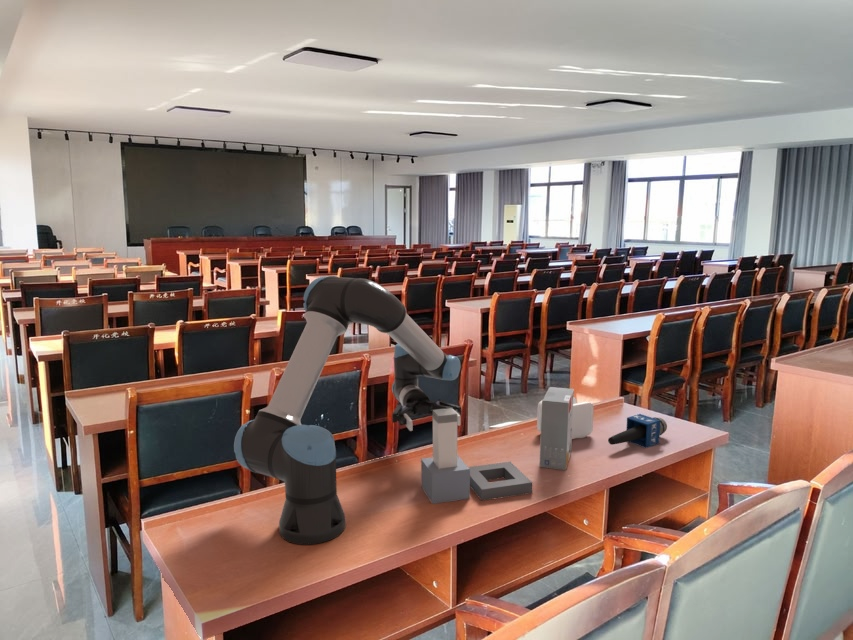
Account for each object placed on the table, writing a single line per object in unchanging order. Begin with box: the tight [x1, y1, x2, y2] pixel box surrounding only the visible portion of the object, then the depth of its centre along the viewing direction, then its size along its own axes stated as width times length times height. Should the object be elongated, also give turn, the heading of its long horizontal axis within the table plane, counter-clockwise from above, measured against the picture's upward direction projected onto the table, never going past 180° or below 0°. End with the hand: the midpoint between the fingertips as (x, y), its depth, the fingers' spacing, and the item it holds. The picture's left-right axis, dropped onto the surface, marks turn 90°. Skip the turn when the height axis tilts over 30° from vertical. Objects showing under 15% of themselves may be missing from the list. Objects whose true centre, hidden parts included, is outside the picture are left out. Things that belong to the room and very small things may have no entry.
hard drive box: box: [538, 386, 575, 471], centre depth 179 cm, size 16×8×20 cm, turn 161°
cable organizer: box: [536, 396, 594, 440], centre depth 199 cm, size 15×11×12 cm
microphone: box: [608, 413, 668, 449], centre depth 191 cm, size 8×8×25 cm
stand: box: [420, 454, 471, 505], centre depth 159 cm, size 10×10×8 cm
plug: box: [432, 408, 458, 469], centre depth 157 cm, size 5×5×14 cm
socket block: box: [468, 461, 533, 501], centre depth 163 cm, size 14×14×3 cm
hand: (435, 423), depth 165 cm, fingers open, 13 cm apart
